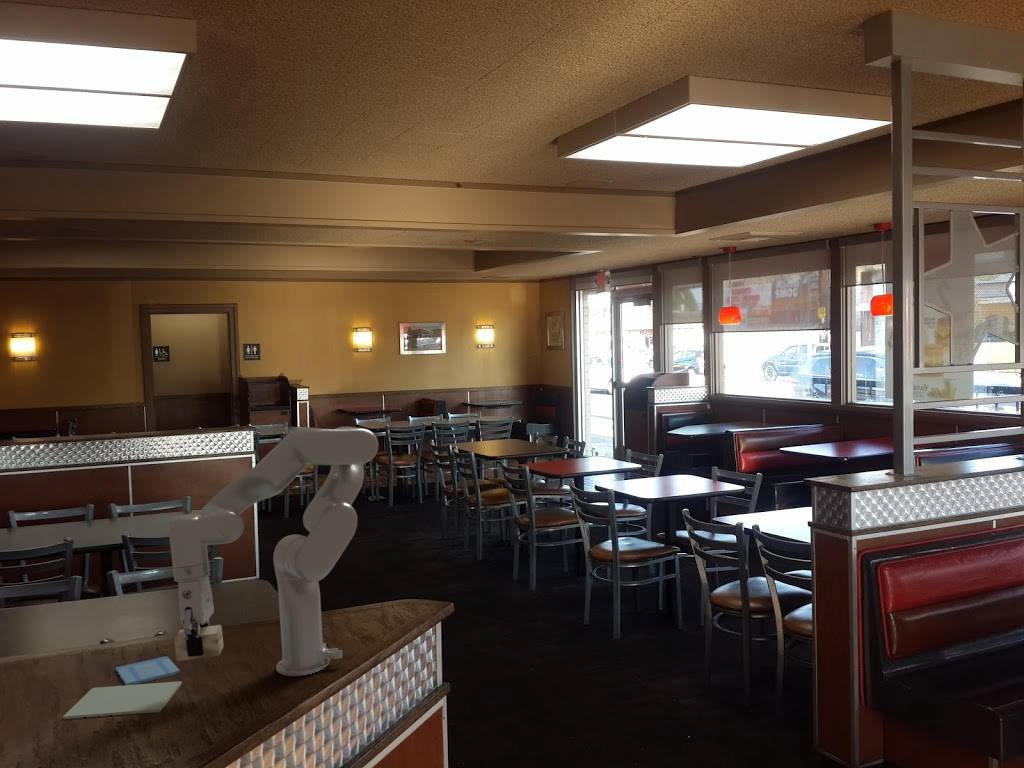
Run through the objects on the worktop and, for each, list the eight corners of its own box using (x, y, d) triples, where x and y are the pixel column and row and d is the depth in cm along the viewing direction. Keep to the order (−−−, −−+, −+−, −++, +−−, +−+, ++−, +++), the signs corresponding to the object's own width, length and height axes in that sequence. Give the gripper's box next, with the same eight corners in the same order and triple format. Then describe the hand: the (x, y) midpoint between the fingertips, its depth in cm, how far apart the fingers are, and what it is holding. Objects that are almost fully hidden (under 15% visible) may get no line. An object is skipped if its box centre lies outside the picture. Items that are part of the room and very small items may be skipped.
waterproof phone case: (180, 675, 215) (180, 670, 215) (126, 688, 208) (126, 682, 208) (167, 660, 226) (167, 655, 226) (115, 672, 219) (115, 667, 219)
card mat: (181, 683, 208) (181, 681, 208) (160, 711, 192) (159, 709, 192) (92, 690, 207) (92, 687, 206) (63, 719, 191) (62, 716, 191)
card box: (223, 646, 204) (221, 624, 204) (219, 655, 198) (216, 633, 198) (182, 651, 203) (179, 630, 202) (176, 661, 197) (174, 638, 197)
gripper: (198, 580, 191) (207, 662, 192) (218, 559, 208) (226, 635, 209) (162, 583, 190) (171, 666, 192) (185, 562, 208) (193, 638, 209)
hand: (200, 649), depth 200 cm, fingers closed on card box, 6 cm apart
